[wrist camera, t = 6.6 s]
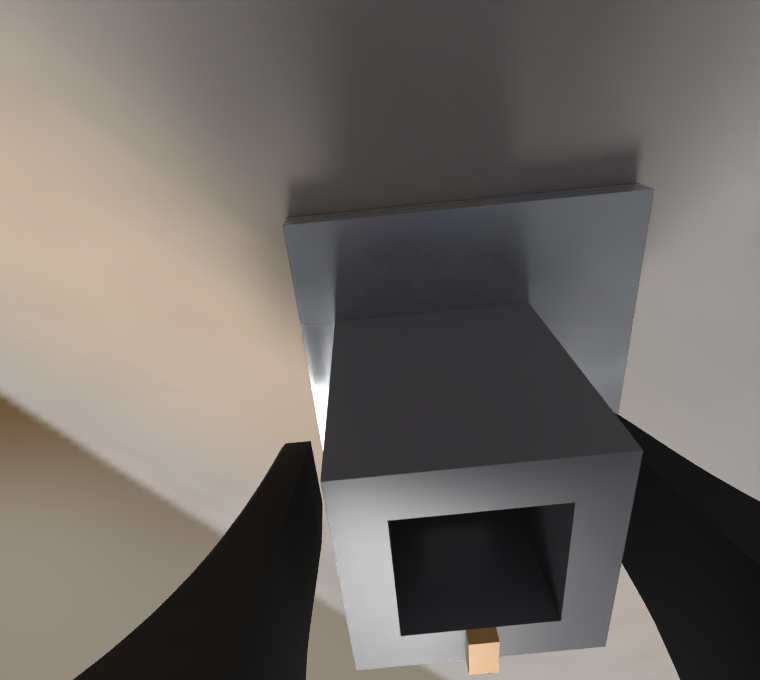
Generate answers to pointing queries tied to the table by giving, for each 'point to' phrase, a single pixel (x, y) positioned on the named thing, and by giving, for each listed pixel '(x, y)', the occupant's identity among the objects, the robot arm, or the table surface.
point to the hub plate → (479, 270)
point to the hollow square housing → (471, 489)
